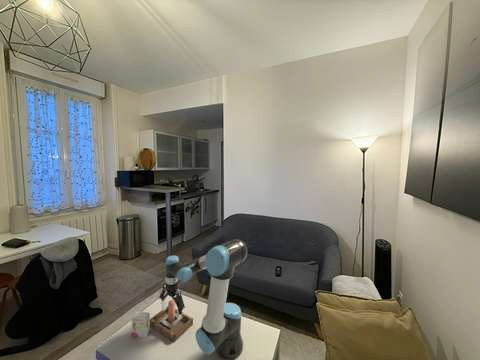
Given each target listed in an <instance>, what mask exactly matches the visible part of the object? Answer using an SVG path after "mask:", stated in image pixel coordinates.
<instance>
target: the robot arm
mask: <svg viewBox="0 0 480 360" xmlns="http://www.w3.org/2000/svg"><path fill="white" fill-rule="evenodd" d="M247 256H248V247H247V244H246V243H245V242H244V241H243V240H241V239H238V238H237V239H232V240H229V241H226V242H224V243H222V244H219V245H215V246H214V247H212V248H211V249H208V252H207V253H206V254H205V255H203V256H200V257H198V258H196V259H193V260H190V261H187V262H185V263H184V264H183V263H181V262H180V259H179V256H178V255H169V256H168V257H166V259H165V277H164V278H165V281H164V282H165V285H163V286H162V290H161V292H160V294H159V299H160V301H161V311H164V310H165V309H166V307H167V297H170V298H171V299H172V300H174V301H175V306H176V308H177V320H179V319H180V318H181V314H182V313H183V310H184V309H185V308H186V306H185V303H184V299H183V296H182V291H178V288H179V281H181V282H183V283H188V282H189V281H190V279H192V277H193V275H194V274H196V273H199V272H202V271H203V270H207V271H208V272H207V273H208V274H209V275H210V285H209V291H208V292H209V293H208V299H207V305H206V311H205V312H206V314H205V315H204V316H203V318H202V320H201V326H200V327H199V328H197V330H196V331H195V340H196V343H197V346H198V348H199V349H200V350H201V351H202V352H203V353H204V354H205V355H211V354H212V353H213V352H216V353H217V354H218V356H219V357H221V358H222V359H224V360H235V359H236V358H238V357H239V356H241V354H242V352H243V350H244V349H243V348H244V340H243V338H242V334H241V328H242V327H241V325H242V310H241V307H240V306H239V305H238V304H236V303H233V302H227V297H228V291H229V285H230V283H229V282H230V280H231V279H232V278H233V276H234V273H235V267H236V266H238V265H240V264H241V263H243V262H244V261H245V260H246V258H247Z"/></svg>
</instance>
